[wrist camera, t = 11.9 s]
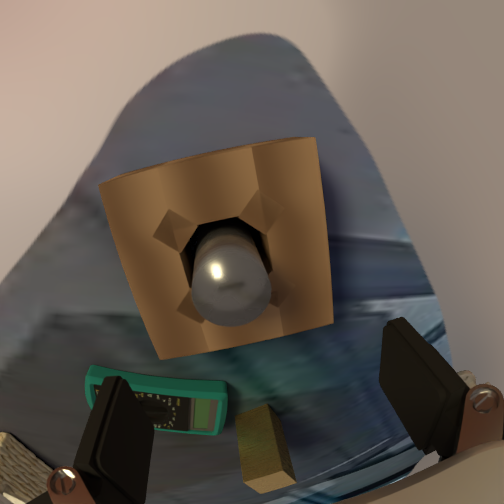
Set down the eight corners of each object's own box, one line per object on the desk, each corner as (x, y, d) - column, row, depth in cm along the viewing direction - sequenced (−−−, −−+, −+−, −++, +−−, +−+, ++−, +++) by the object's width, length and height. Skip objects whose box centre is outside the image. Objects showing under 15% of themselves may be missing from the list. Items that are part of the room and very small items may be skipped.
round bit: (244, 206, 23) (264, 248, 15) (254, 255, 25) (276, 317, 16) (192, 218, 23) (182, 265, 14) (204, 266, 24) (202, 333, 16)
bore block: (293, 137, 22) (315, 137, 17) (313, 291, 26) (333, 323, 22) (121, 174, 21) (98, 184, 16) (166, 322, 26) (160, 359, 21)
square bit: (267, 403, 31) (282, 470, 23) (280, 420, 32) (296, 482, 24) (234, 415, 31) (243, 482, 23) (250, 432, 33) (260, 493, 24)
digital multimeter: (86, 359, 27) (77, 378, 24) (228, 377, 29) (230, 398, 27) (96, 404, 29) (91, 423, 27) (221, 419, 32) (222, 439, 29)
